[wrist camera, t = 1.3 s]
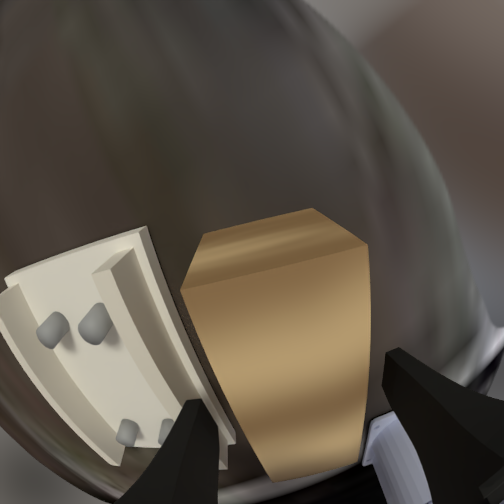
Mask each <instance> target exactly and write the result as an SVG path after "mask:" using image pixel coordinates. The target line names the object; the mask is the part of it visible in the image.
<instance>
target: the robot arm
mask: <svg viewBox="0 0 504 504" xmlns="http://www.w3.org/2000/svg"><path fill="white" fill-rule="evenodd" d="M382 387H383V390H384V392H385V395H386V397H387V399H388V402H389V404H390V406H391V408H392V409H393V411H392V412H390V413H387V414H385V415H382V416H380V417H377V418H375V419H373V420H372V421H371V423H370V427H369V432H368V437H367V442H366V447H365V452H364V456H363V460H362V465H363V466H366V465H369V464H373V466H374V469H375V471H376V474H377V476H378V479H379V482H380V484H381V487H382V490H383V492H384V495H385V497H386V500H387V503H388V504H504V401H503V400H499V399H495V398H492V397H488V396H485V395H483V394H480V393H478V392H475V391H473V390H470V389H468V388H466V387H463V386H461V385H459V384H458V383H456V382H454V381H452V380H450V379H448V378H446V377H445V376H443V375H441V374H440V373H438V372H436V371H435V370H433V369H431V368H430V367H428V366H427V365H425V364H424V363H422V362H420V361H419V360H417V359H416V358H414V357H413V356H411V355H410V354H408V353H407V352H405V351H404V350H402V349H401V348H399V347H398V348H396V349H393V350H391V351H388V352H386V354H385V364H384V372H383V380H382ZM219 453H220V445H219V432H218V425H217V424H216V422H215V420H214V419H213V417H212V416H211V414H210V412H209V410H208V409H207V407H206V405H205V404H204V402H203V400H202V398H200V399H191V400H186V401H185V403H184V405H183V407H182V409H181V411H180V413H179V415H178V417H177V419H176V421H175V423H174V425H173V427H172V428H171V430H170V432H169V434H168V436H167V437H166V439H165V441H164V443H163V444H162V446H161V448H160V449H159V451H158V452H157V454H156V455H155V457H154V458H153V460H152V461H151V463H150V464H149V466H148V467H147V468H146V470H145V471H144V472H143V474H142V475H141V476H140V477H139V478H138V480H137V481H136V482H135V483H134V484H133V485H132V486H131V487H130V488H129V490H128V491H127V492H126V493H125V494H124V495H123V496H122V497H121V498H119V499H118V500H117V501H116V502H115V503H114V504H218V473H219Z"/></svg>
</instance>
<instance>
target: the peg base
mask: <svg viewBox="0 0 504 504" xmlns="http://www.w3.org/2000/svg"><path fill="white" fill-rule="evenodd" d="M4 279H5V281H6V284H7V286H8V288H7V289H6V290H5V291H3V292H2V293H1V294H0V331H1V333H2V335H3V337H4V338H5V340H6V342H7V344H8V345H9V347H10V349H11V350H12V352H13V353H14V355H15V357H16V358H17V360H18V361H19V363H20V364H21V366H22V367H23V369H24V370H25V372H26V373H27V375H28V376H29V377H30V379H31V380H32V382H33V383H34V384H35V386H36V387H37V388H38V390H39V391H40V392H41V394H42V395H43V396H44V397H45V399H46V400H47V401H48V402H49V403H50V405H51V406H52V407H53V408H54V409H55V411H56V412H57V413H58V414H59V415H60V416H61V417H62V419H63V420H64V421H65V422H66V423H67V424H68V425H69V426H70V427H71V428H72V429H73V430H74V431H75V432H76V433H77V434H78V435H79V436H80V437H81V438H82V439H83V440H84V441H85V442H86V443H87V444H88V445H89V446H90V447H91V448H92V449H93V450H94V451H95V452H97V453H98V454H99V455H100V456H101V457H102V458H103V459H105V460H106V461H107V462H108V463H109V464H110V465H115V466H120V463H121V460H122V456H123V452H124V449H125V446H127V447H152V448H161V446H162V444H163V443H164V441H165V439H166V437H167V436H168V434H169V432H170V430H171V428H172V427H173V425H174V423H175V421H176V419H177V417H178V415H179V413H180V411H181V409H182V407H183V405H184V403H185V401H186V400H191V399H200V398H202V400H203V402H204V404H205V405H206V407H207V409H208V410H209V412H210V414H211V416H212V417H213V419H214V420H215V422H216V424H217V425H218V432H219V445H220V453H219V470H223V469H228V445H230V444H236V432H235V430H234V428H233V427H232V425H231V423H230V421H229V419H228V418H227V416H226V414H225V412H224V410H223V408H222V406H221V404H220V403H219V401H218V399H217V397H216V395H215V393H214V391H213V389H212V387H211V385H210V383H209V381H208V379H207V377H206V375H205V373H204V370H203V368H202V366H201V364H200V362H199V360H198V358H197V356H196V353H195V351H194V349H193V347H192V344H191V342H190V340H189V338H188V335H187V333H186V331H185V328H184V326H183V324H182V321H181V319H180V316H179V314H178V312H177V309H176V307H175V304H174V302H173V299H172V296H171V294H170V291H169V289H168V286H167V283H166V281H165V278H164V275H163V273H162V270H161V267H160V264H159V261H158V259H157V256H156V253H155V250H154V247H153V244H152V241H151V238H150V235H149V232H148V228H147V226H144V227H141V228H137V229H134V230H131V231H128V232H124V233H121V234H118V235H115V236H112V237H109V238H105V239H102V240H99V241H96V242H93V243H90V244H87V245H84V246H82V247H79V248H76V249H73V250H70V251H67V252H64V253H62V254H59V255H56V256H53V257H51V258H48V259H45V260H43V261H40V262H37V263H35V264H32V265H29V266H27V267H24V268H22V269H19V270H17V271H14V272H13V273H11V274H10V275H8V276H7V277H6V278H4Z"/></svg>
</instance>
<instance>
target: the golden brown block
mask: <svg viewBox="0 0 504 504" xmlns="http://www.w3.org/2000/svg"><path fill="white" fill-rule="evenodd" d="M180 291H181V294H182V296H183V299H184V301H185V304H186V307H187V309H188V312H189V314H190V317H191V319H192V322H193V324H194V327H195V329H196V332H197V334H198V336H199V339H200V341H201V343H202V346H203V348H204V350H205V353H206V355H207V357H208V360H209V362H210V364H211V366H212V369H213V371H214V373H215V375H216V377H217V379H218V382H219V384H220V386H221V388H222V390H223V392H224V394H225V396H226V398H227V400H228V402H229V404H230V406H231V408H232V410H233V412H234V414H235V416H236V418H237V420H238V422H239V424H240V426H241V428H242V430H243V432H244V433H245V435H246V437H247V439H248V441H249V443H250V444H251V446H252V448H253V450H254V452H255V453H256V455H257V457H258V459H259V460H260V462H261V464H262V466H263V467H264V469H265V471H266V472H267V474H268V476H269V477H270V479H271V481H272V482H273V483H274V482H280V481H286V480H291V479H296V478H301V477H305V476H310V475H314V474H318V473H322V472H325V471H329V470H333V469H336V468H339V467H343V466H346V465H349V464H352V463H355V462H357V461H358V456H359V450H360V444H361V438H362V432H363V425H364V417H365V409H366V399H367V389H368V377H369V360H370V331H371V303H370V273H369V257H368V245H367V244H366V243H364V242H363V241H361V240H360V239H359V238H357V237H356V236H354V235H353V234H351V233H350V232H348V231H347V230H345V229H344V228H342V227H341V226H339V225H338V224H336V223H335V222H333V221H332V220H330V219H329V218H327V217H326V216H324V215H323V214H321V213H319V212H318V211H316V210H315V209H313V208H310V209H306V210H301V211H297V212H292V213H288V214H284V215H279V216H275V217H271V218H266V219H262V220H258V221H254V222H250V223H246V224H241V225H237V226H233V227H229V228H225V229H221V230H217V231H213V232H209V233H205V234H203V237H202V239H201V241H200V244H199V246H198V248H197V251H196V253H195V255H194V258H193V260H192V262H191V265H190V267H189V270H188V272H187V275H186V277H185V280H184V282H183V285H182V287H181V290H180Z"/></svg>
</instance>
